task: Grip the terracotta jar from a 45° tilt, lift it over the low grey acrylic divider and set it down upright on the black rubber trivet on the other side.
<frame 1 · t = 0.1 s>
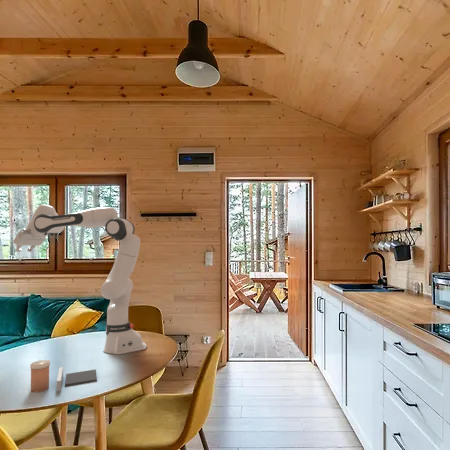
hand: (23, 251, 187), 54 cm above the table, tool tilted 30°, fingers open, 8 cm apart
jar: (39, 388, 130), on the table
divider: (59, 383, 134), on the table
trivet: (81, 378, 139), on the table
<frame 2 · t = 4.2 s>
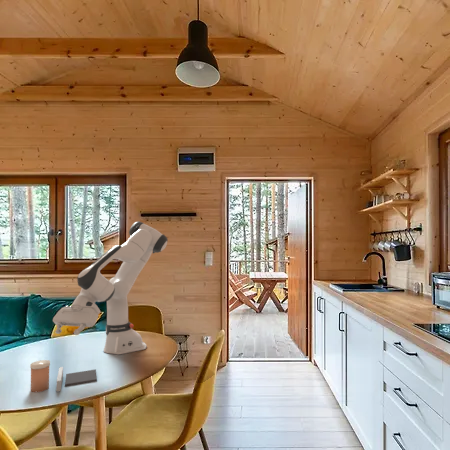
hand: (66, 333, 142), 18 cm above the table, tool tilted 45°, fingers open, 8 cm apart
nothing on the table moved.
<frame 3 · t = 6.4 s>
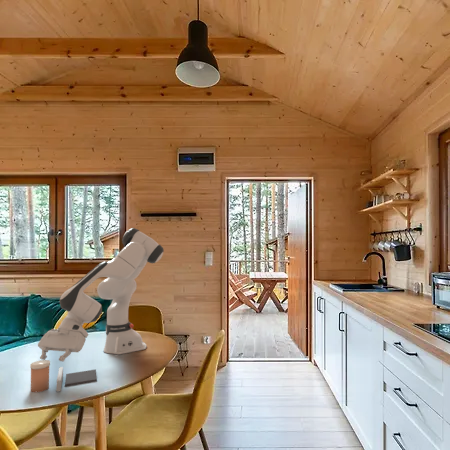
hand: (51, 359, 135), 10 cm above the table, tool tilted 45°, fingers open, 8 cm apart
nothing on the table moved.
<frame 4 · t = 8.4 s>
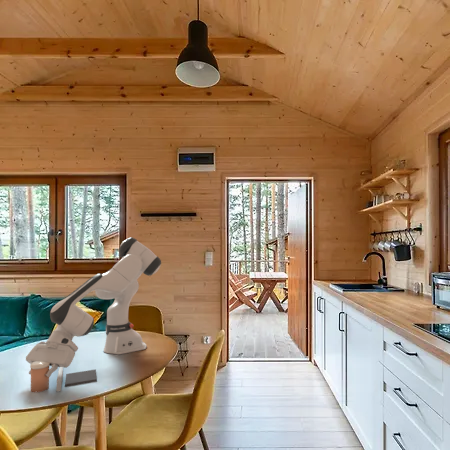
hand: (38, 375, 129), 5 cm above the table, tool tilted 45°, fingers closed on jar, 6 cm apart
jar: (39, 388, 130), on the table, touching gripper
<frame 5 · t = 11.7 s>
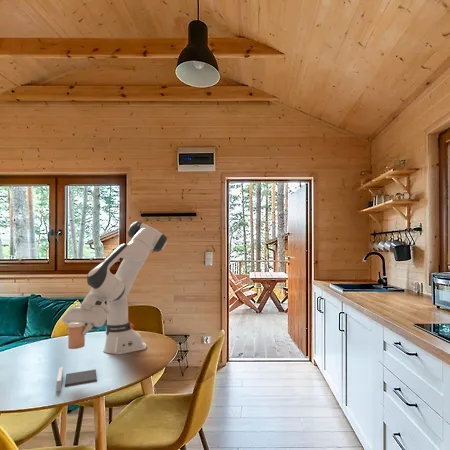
hand: (75, 333, 139), 19 cm above the table, tool tilted 45°, fingers closed on jar, 6 cm apart
jar: (76, 346, 140), point 13 cm above the table, touching gripper
when the fingers open (8 cm above the table, at t = 15.2 s): jar drops 1 cm, resting on trivet.
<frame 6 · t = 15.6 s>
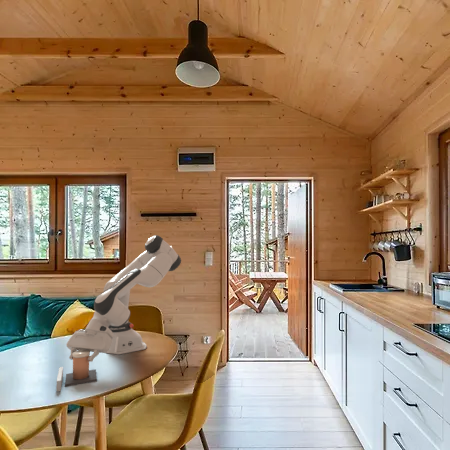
hand: (80, 360, 139), 8 cm above the table, tool tilted 45°, fingers open, 8 cm apart
jar: (80, 376, 139), point 1 cm above the table, touching trivet
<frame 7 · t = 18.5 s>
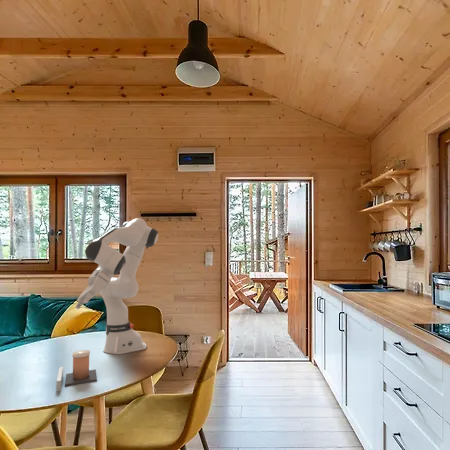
hand: (80, 305, 144), 30 cm above the table, tool tilted 45°, fingers open, 8 cm apart
nothing on the table moved.
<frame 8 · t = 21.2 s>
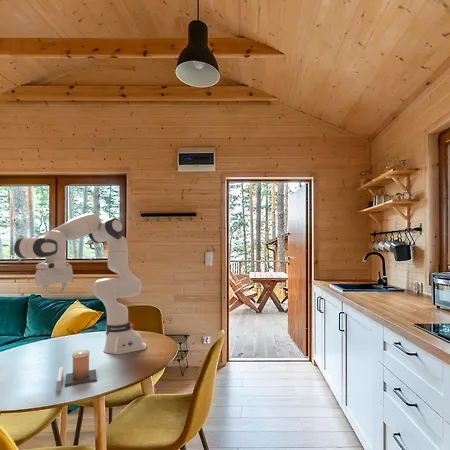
hand: (55, 292, 158), 34 cm above the table, tool pointing down, fingers open, 8 cm apart
nothing on the table moved.
at the end: jar inside the target area on the trivet (0.1 cm from its centre), point 0.9 cm above the trivet's base; jar tilted 1°; the gripper is holding nothing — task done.
